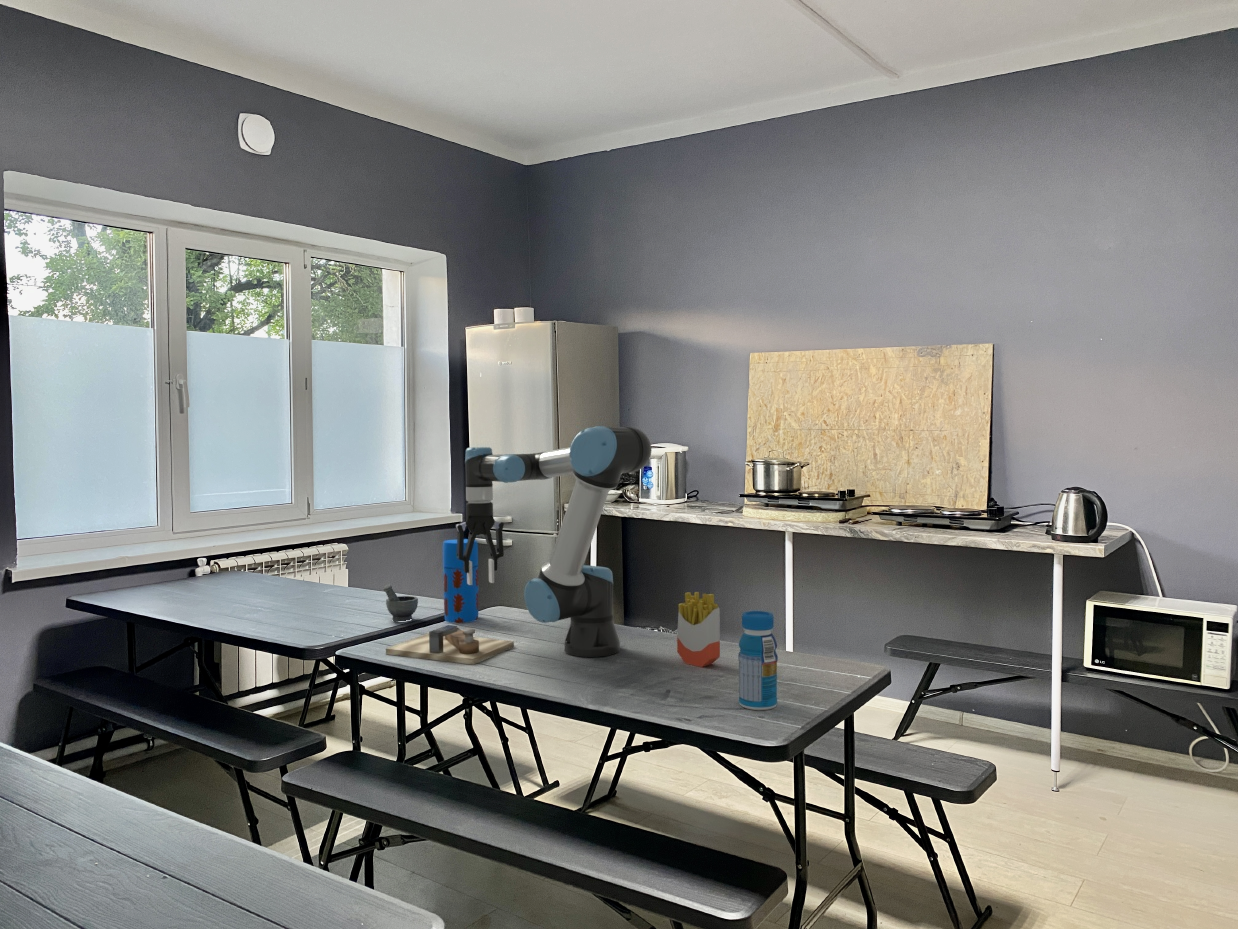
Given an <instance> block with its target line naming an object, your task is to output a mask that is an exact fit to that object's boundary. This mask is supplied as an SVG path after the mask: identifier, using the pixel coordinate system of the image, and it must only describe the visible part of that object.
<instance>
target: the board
mask: <svg viewBox="0 0 1238 929" xmlns="http://www.w3.org/2000/svg"><path fill="white" fill-rule="evenodd" d="M473 639H474V640H478V641H479V651H478V652H476V653H471V654H464V653H460V652H459V649H457V648H456V647H455V646H454V645H452V644H451V643H450V642H449V641H448V640H446V639H445V636H444V637H443V652H441V653H431V652H430V651H429V633H425V634H423V635H421V636H420V635H419V636H417V637H414V638H411V639H409V640H406V641H404V642H401V643H397V644H395V645H394V644H393V646H392V645H391V646H389V647H386V648H385V655H392V656H398V655H400V657H407V658H408V657H409V658H416V659H423V660H431V661H441V662H450V663H458V664H467V665H476V664H478V663H480V662H482V661H485V660H487V659H489V658H493V657H494V656H496V655H498V654H501V653H503V652H505V651H507V650H509V649H512V648H514V647H515V642H514V640H505V639H504V640H503V639H496V638H495V639H493V638H485V637H478V636H477V637H476V636H473Z"/></svg>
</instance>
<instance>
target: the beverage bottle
mask: <svg viewBox="0 0 1238 929" xmlns="http://www.w3.org/2000/svg"><path fill="white" fill-rule="evenodd" d="M774 619H775V618H774V614H773V613H772V612H769V611H765V610H764V611H763V610H750V611H749V610H748V611H744V612H743V613H742V616H741V626H742V629H743V630H744V632H743V633H742V635H741V636H740V639H739V642H738V647H739V652H738V654H737V655H738V656H737V657H738V658H737V659H738V660H737V661H738V677H739V678H738V690H739V691H738V692H739V693H738V703H739V705H740V706H741V707H743V708H745V709H747V710H752V711H767V710H772V709H774V708H776V707H777V704H778V660H779V659H778V658H779V657H778V653H777V652H776V650H777V648H778V644H777V641H776V638H775V636H774V635H773V632H772V631H773V630H774V626H775V625H774V624H775V622H774V621H775V620H774Z"/></svg>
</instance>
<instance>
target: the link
mask: <svg viewBox="0 0 1238 929" xmlns="http://www.w3.org/2000/svg"><path fill="white" fill-rule="evenodd" d="M475 633H476V629H475V628H473V627H472V628H463V629H460V628H459V627H457V632H455V633H452V634H449V635H447V636H445V639H446V640H448V641H449V642H450V643H451V644H452V645H454V646H455V647H456V648H457V649H459V652H460V653H464V654H471V653H476V652H478V651H479V641H478V640H474V639H473V637H474V634H475Z"/></svg>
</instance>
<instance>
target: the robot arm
mask: <svg viewBox="0 0 1238 929" xmlns="http://www.w3.org/2000/svg"><path fill="white" fill-rule="evenodd" d="M651 456H652V444H651V440H650V439H649V437H648V435H647V434H646V433H644V431H642V430H641V429H639V428H636V427H633V426H604V425H603V426H602V425H600V426H599V425H597V426H593V427H587V428H584V429H583V430H581V431H579V432H578V433H577V434H576V436H574V438H573V439H572V442H571V444H570V446H569V447H564V448H563V447H562V448H558V449H553V450H547V451H540V452H534V453H513V454H512V453H511V454H510V453H509V454H493V449H492V447H490V446H488V447H487V446H480V447H479V446H475V447H470V446H469V447H467V448H466V449H465V457H464V458H465V460H464V465H465V466H464V467H465V501H466V503H465V510H466V512H465V513H466V514H465V520H464V522H461V523H457V524H455V530H456V533H457V534H456V535H457V536H456V537H457V538H456V539H457V558H458V559H459V560H463V564H464V572H465V573H467V584H469V585H472V562H471V561H469V560H470V556H471V552H472V549H473V545H474V541H475V540H476V538H477V536H479V535H483V536H484V538H485V542H486V545H487V547H488V549H487V550H488V552H489V555H490V558H488V582H489V583H490V584H495V571H497V570H498V560H499V559H500V558H503V557H504V553H505V552H504V539H503V528H504V525H505V524H504V522H502V521H496V520H495V518H494V502H492V501H493V500H494V497H493V496H494V493H493V492H494V491H493V490H494V488H493V486H494V483H493V482H498V483H500V482H501V483H505V484H508V483H516V482H520V481H536V480H537V481H539V480H542V481H544V480H545V481H546V480H548V479H552V478H557V477H563V476H564V477H565V476H570V475H573V477H574V479H575V482H574V486H573V488H572V493H571V495H570V499H569V501H568V505H567V507H566V510H565V513H564V516H563V519H562V522H561V524H560V525H561V526H560V528H559V532H558V535H557V538H556V541H555V545H554V547H553V550H552V553H551V556H550V559H549V560H548V561H546V562H544V563H543V564H542V565H541V568H540V571H539V573H538V577H534V578H532V579H530V580H528V582H526V585H525V588H524V593H523V595H524V597H523V598H524V603H525V606H526V608H527V611H528V612H529V614H530V616H531V617H532V618H533V619H535V620H536V621H537V622H539V623H544V624H547V623H548V624H549V623H556V622H558V621H562V620H566V619H570V623H569V626H568V630H567V633H566V636H565V640H564V649H563V650H564V652H565V653H566V654H568V655H571V656H575V657H582V658H583V657H584V658H587V657H588V658H594V657H595V658H597V657H607V656H611V655H615V654H617V653H619V652H620V651H621V642H620V641H621V640H620V638H619V635H618V631H617V629H616V626H615V623H614V579H613V578H614V577H613V571H612V570H611V569H610V568H609V567H605V566H598V565H596V566H595V565H588V564H587V565H585V562H586V559H587V557H588V552H589V551H590V548H591V545H592V541H593V538H594V536H595V534H596V533H595V532H596V530H597V527H598V524H599V522H600V518H601V515H602V512H603V510H604V507H605V503H606V501H607V497H608V495H609V492H611V491H612V490H615V489H616V488H618V485H619V482H620V479H621V476H622V474H628V473H634V472H638V471H640V470H641V469H643V468H644V467H645V466H646V465H647V464H648V462H649V461H650V459H651ZM493 526H494V529H495V544H496V547H495V544H494V541H493V538H492V533H491V529H493ZM466 528H467V529H468V531H469V532H468V538H467V539H468V541H467V545H466V549H465V553H464V556H463V549H464V539H465V531H466Z"/></svg>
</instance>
